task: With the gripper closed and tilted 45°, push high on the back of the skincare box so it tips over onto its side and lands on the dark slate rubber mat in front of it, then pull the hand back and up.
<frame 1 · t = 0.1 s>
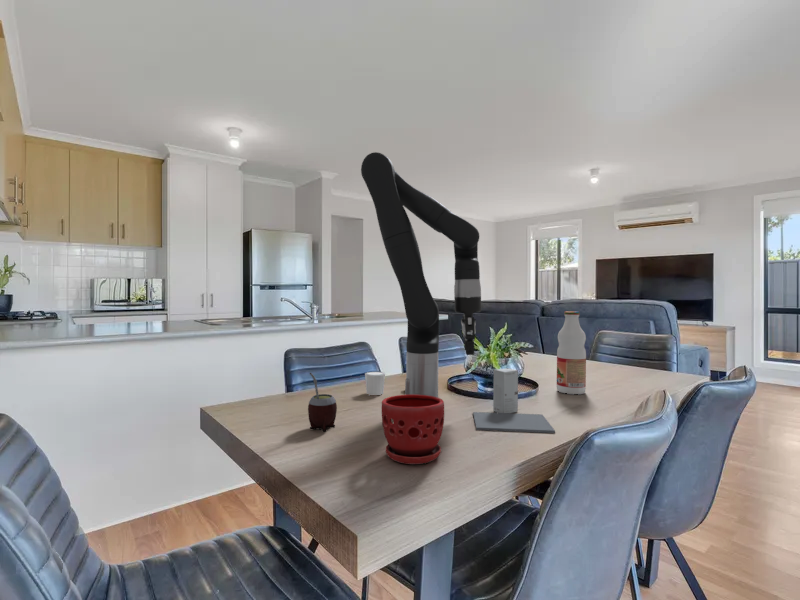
hand: (469, 352, 122), 17 cm above the table, tool pointing down, fingers open, 8 cm apart
slate mat: (511, 422, 113), on the table
plant pot: (412, 457, 90), on the table
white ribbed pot: (374, 394, 144), on the table
skincare box: (505, 412, 124), on the table
mate gourd: (321, 429, 107), on the table
fruit juice: (570, 392, 149), on the table
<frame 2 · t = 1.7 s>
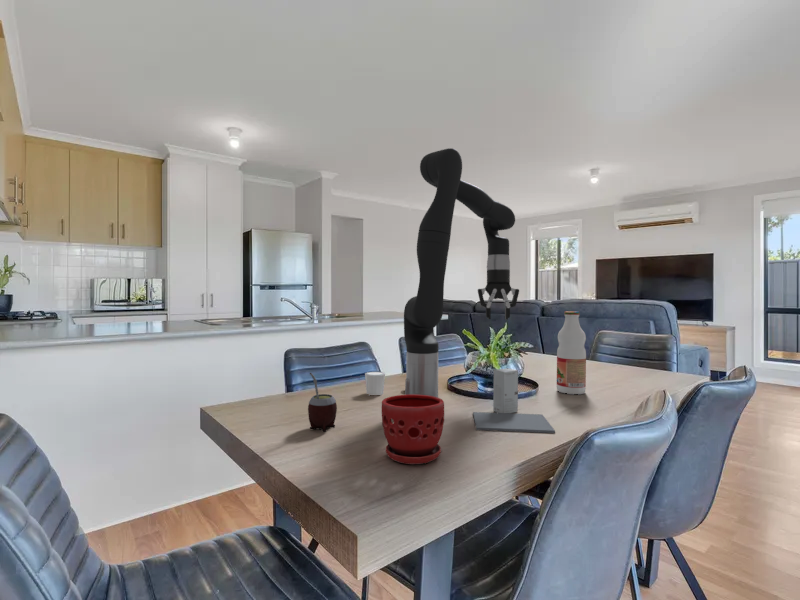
hand: (497, 319, 144), 25 cm above the table, tool pointing down, fingers open, 5 cm apart
nothing on the table moved.
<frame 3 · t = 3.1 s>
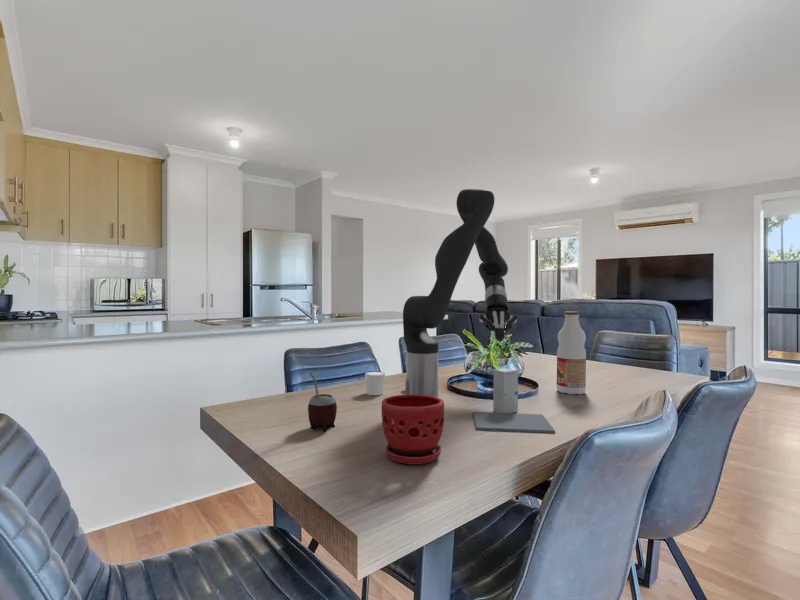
hand: (500, 339, 138), 19 cm above the table, tool tilted 45°, fingers closed
nothing on the table moved.
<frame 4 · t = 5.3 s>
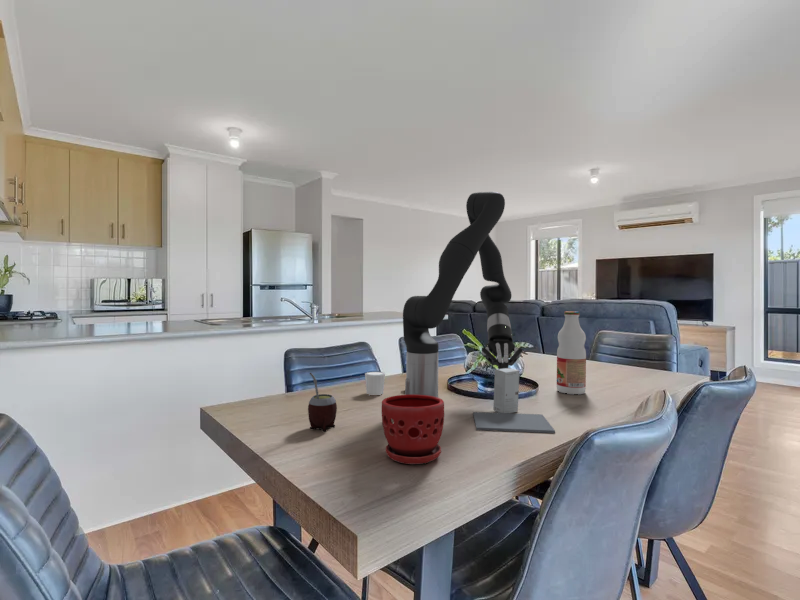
hand: (504, 375, 127), 10 cm above the table, tool tilted 45°, fingers closed
skincare box: (505, 411, 124), on the table, touching gripper
everything else where it was.
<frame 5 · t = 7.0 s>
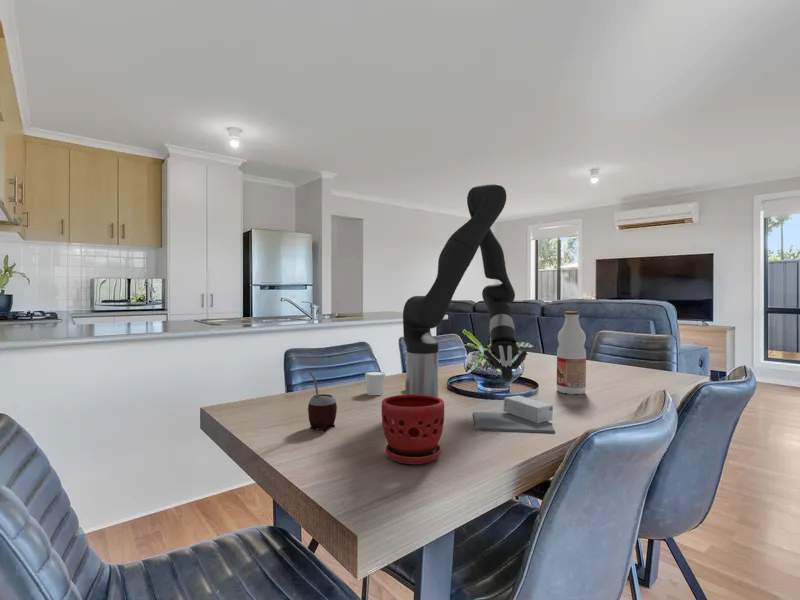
hand: (507, 379, 120), 10 cm above the table, tool tilted 45°, fingers closed
skincare box: (510, 402, 122), point 3 cm above the table, touching slate mat
everything else where it was.
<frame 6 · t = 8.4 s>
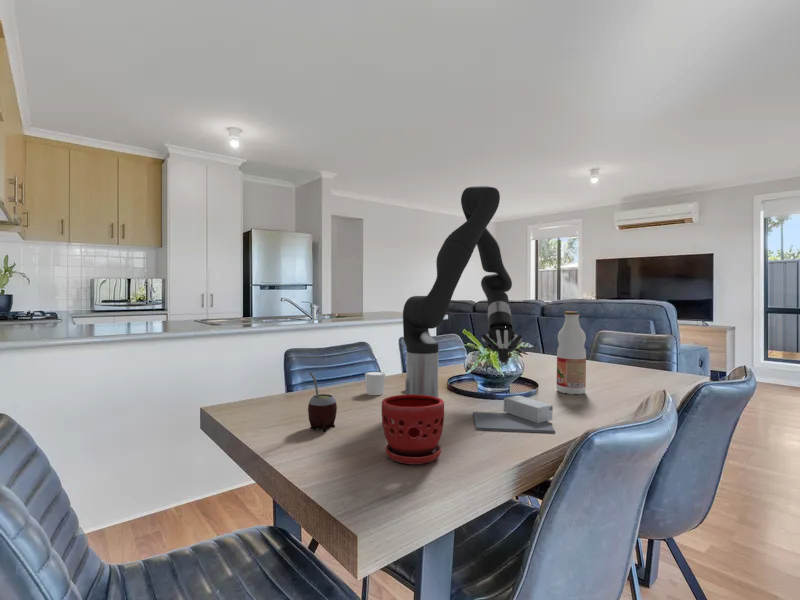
hand: (503, 361, 129), 14 cm above the table, tool tilted 45°, fingers closed
nothing on the table moved.
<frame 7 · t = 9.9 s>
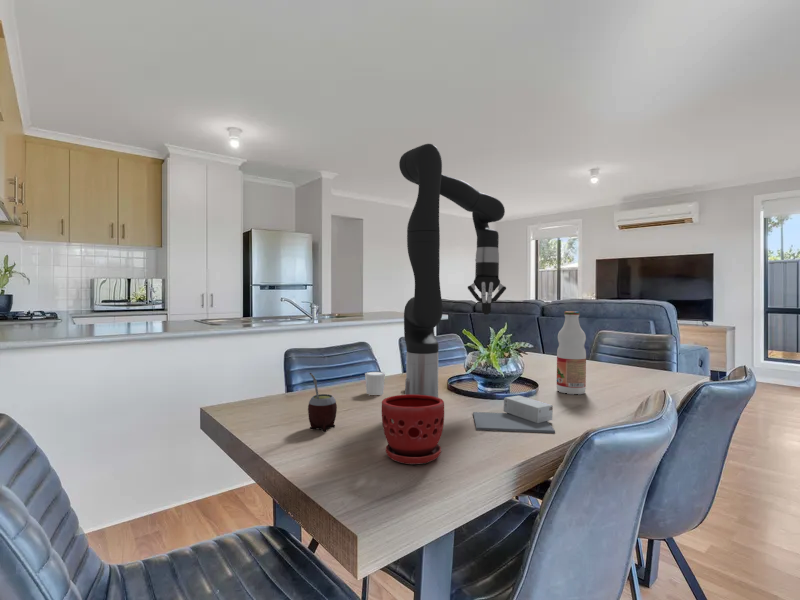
hand: (486, 314, 141), 27 cm above the table, tool pointing down, fingers closed
nothing on the table moved.
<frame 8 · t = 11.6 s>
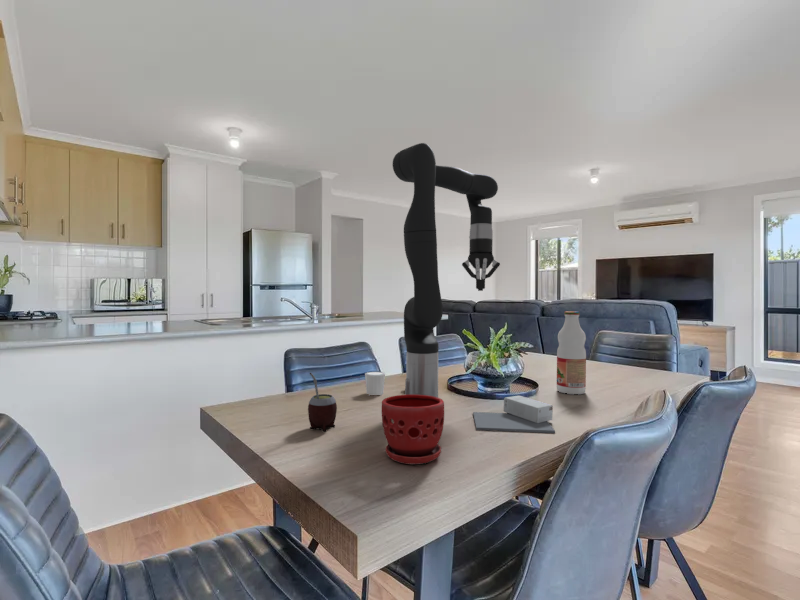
hand: (480, 290, 143), 35 cm above the table, tool pointing down, fingers closed
nothing on the table moved.
at the end: skincare box tilted 92°; skincare box touching slate mat; skincare box inside the target area (3.8 cm from its centre), point 3.0 cm above the table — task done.
